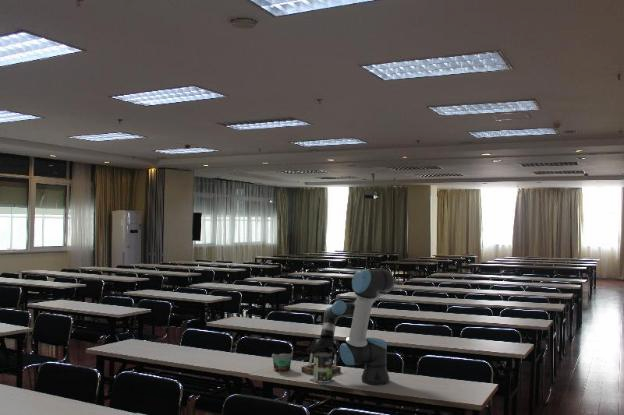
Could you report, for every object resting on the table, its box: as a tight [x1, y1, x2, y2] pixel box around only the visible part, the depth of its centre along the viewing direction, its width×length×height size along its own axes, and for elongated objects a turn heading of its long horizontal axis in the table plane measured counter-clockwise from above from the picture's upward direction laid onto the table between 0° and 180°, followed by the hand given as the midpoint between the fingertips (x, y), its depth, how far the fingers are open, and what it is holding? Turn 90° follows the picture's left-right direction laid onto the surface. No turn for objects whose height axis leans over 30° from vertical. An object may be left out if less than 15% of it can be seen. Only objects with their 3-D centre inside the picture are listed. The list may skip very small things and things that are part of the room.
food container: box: [271, 352, 293, 373], centre depth 342 cm, size 12×6×10 cm, turn 105°
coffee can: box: [312, 351, 333, 384], centre depth 323 cm, size 10×10×14 cm
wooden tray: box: [301, 363, 342, 376], centre depth 340 cm, size 16×16×3 cm
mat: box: [309, 378, 336, 386], centre depth 322 cm, size 11×9×1 cm
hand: (322, 365), depth 322 cm, fingers open, 13 cm apart
